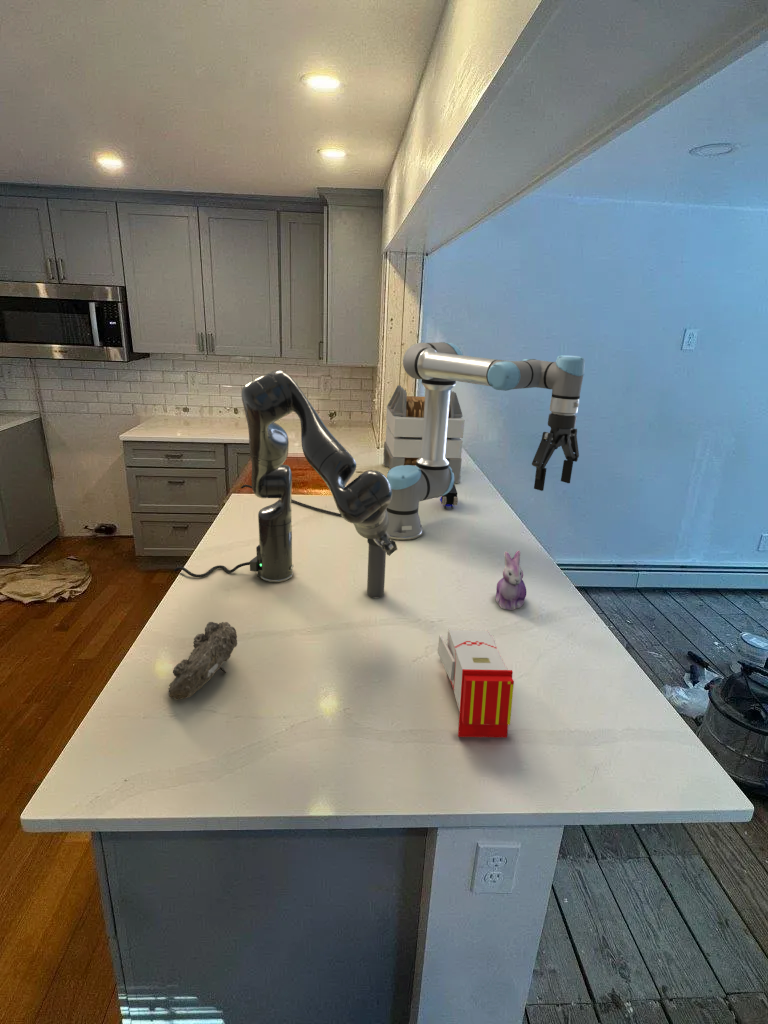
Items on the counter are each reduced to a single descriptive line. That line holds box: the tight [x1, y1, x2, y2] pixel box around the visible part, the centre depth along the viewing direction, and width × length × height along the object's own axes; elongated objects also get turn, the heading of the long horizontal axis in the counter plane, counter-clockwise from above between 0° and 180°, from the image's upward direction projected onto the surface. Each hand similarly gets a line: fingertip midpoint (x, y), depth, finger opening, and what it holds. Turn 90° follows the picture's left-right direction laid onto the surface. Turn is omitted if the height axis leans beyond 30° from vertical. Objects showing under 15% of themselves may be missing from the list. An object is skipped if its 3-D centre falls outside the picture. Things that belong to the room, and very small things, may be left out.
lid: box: [367, 538, 384, 546], centre depth 152 cm, size 6×6×2 cm
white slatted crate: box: [383, 384, 465, 484], centre depth 268 cm, size 34×33×41 cm
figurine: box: [495, 550, 527, 611], centre depth 153 cm, size 9×10×15 cm
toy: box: [437, 628, 515, 738], centre depth 117 cm, size 12×13×30 cm
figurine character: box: [439, 483, 459, 510], centre depth 230 cm, size 7×8×15 cm
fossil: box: [167, 621, 238, 701], centre depth 119 cm, size 22×10×15 cm
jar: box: [366, 543, 387, 599], centre depth 154 cm, size 5×5×18 cm
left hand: (375, 533), depth 135 cm, fingers open, 8 cm apart
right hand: (552, 485), depth 166 cm, fingers open, 13 cm apart
